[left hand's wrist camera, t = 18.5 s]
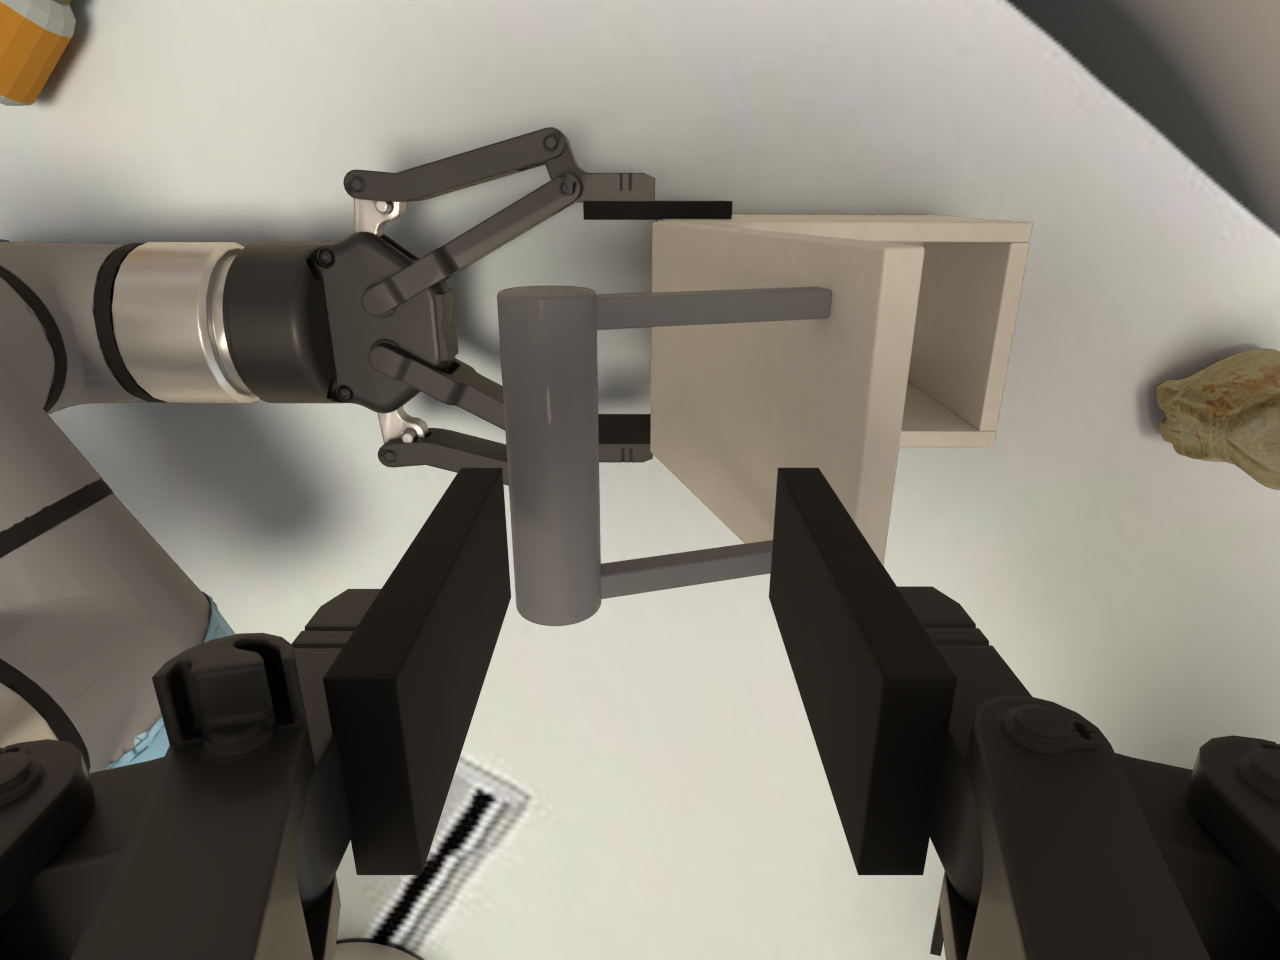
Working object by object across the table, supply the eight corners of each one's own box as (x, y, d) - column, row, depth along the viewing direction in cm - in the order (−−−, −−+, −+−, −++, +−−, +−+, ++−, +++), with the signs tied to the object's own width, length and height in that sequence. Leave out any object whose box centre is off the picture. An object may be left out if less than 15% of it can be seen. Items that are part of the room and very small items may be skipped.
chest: (936, 214, 41) (1034, 222, 31) (913, 390, 44) (994, 448, 34) (657, 214, 41) (663, 220, 31) (656, 389, 44) (660, 447, 34)
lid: (926, 246, 16) (510, 254, 14) (876, 633, 20) (534, 696, 17) (676, 221, 30) (446, 223, 28) (671, 450, 34) (467, 470, 31)
